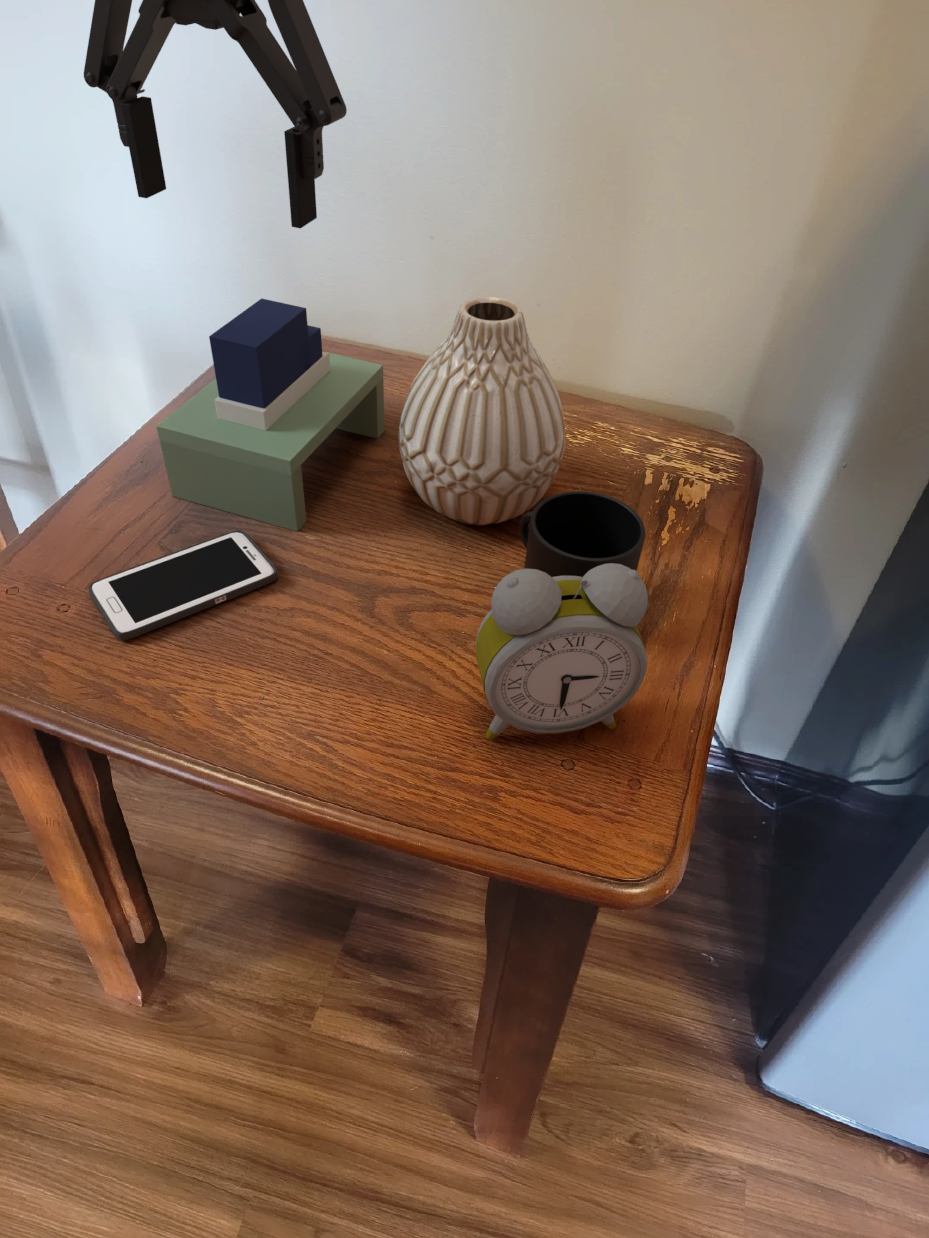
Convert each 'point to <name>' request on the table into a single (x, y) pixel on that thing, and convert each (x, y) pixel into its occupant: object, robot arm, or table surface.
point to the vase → (483, 419)
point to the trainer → (265, 363)
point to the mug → (581, 534)
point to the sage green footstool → (267, 444)
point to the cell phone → (181, 584)
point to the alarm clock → (562, 648)
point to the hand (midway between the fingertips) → (227, 208)
